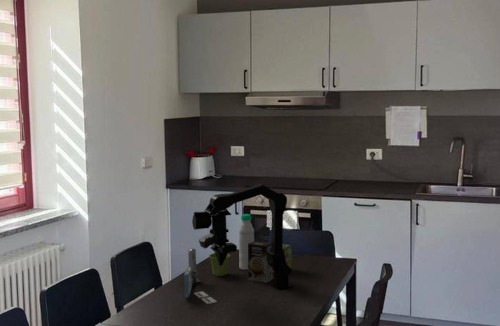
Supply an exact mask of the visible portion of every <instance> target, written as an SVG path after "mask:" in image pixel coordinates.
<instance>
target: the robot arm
mask: <svg viewBox="0 0 500 326" xmlns="http://www.w3.org/2000/svg"><path fill="white" fill-rule="evenodd" d="M258 196H262V197H264V198H265V199H267V201H268V205H269V209H270V212H271V243H272V244H271V249H270V251H267V252H266V253H267V259H266V261H268V264H269V266H271V267H272V270H274V273H273V277H274V278H273V279H274V283H271V287H273V288H275V289H277V290H283V289H290V288H292V285H290V283H289V281H290V279H289V277H290V275H291V274H292V271H293V268H292V269H291V268H290V267H289V266H288V265H287V264H286V258H285V254H284V251H283V244H284V242H283V241H284V235H283V233H284V232H283V231H284V230H283V229H284V213H285V211H286V209H287V203H288V196H287V195H286V194H284V193H283V192H281V191H277V190H272V189H271V188H269V187H267V186H266V185H264V184H262V183H258V184H256V185H253V186H250V187H245V188H243V189H241V190H236V191H234V192H230V193H219V194H214V195H212V196H211V197H210V199H209V203H208V205H207V206H206V207H205V210H204V211H194V212H193V215H192V220H191V222H192V223H191V224H192V229H193V230H204V229H209V228H210V227H211V228H210V229H209V233H208V234H205V235H203V236H201V237H200V238H198V242H199V246H200V247H201V248H203V250H204V249H208V248H209V249H210V250H212V251H213V253H215V254H216V257H217V260H218V263H219V265H220V266H221V265H223V262H224V260H225V258H226V256H227V254H229V253H235V252H237V251H238V246H237V244H235V243H233V242H230V239H228V234H227V233H229V229H228V228H227V216H231V215H232V213H231V212H229V210H228V209H229V208H230V207H232V206H233V205H235V204H236V203H240V202H243V201H246V200H249V199H252V198H255V197H258ZM210 246H211V247H210Z"/></svg>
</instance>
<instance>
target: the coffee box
mask: <svg viewBox="0 0 500 326" xmlns="http://www.w3.org/2000/svg"><path fill="white" fill-rule="evenodd" d="M271 244H272V242H265V241H256V240H254V242H251V243H249V244H248V270H247V275H248V276H247V278H248V281H251V282H252V281H253V282H259V283H266V284H267V283H269V282H270V281H272V280H273V273H272V267H271V266H269V264H268V261H266V259H267V253H266V252H267V251H270V249H271Z"/></svg>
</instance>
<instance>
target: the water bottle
mask: <svg viewBox="0 0 500 326" xmlns="http://www.w3.org/2000/svg"><path fill="white" fill-rule="evenodd" d="M240 219H241V224H240V226H239V228H238V234H239V235H238V251H239V255H238V259H239V261H238V262H239V263H238V265H239V266H238V267H239V269H241V270H243V271H248V244H249V243H251V242H254V241H255V229H254V227H253V224H252V222H251V221H252V214H250V213H243V214H241V216H240Z"/></svg>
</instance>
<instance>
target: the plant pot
mask: <svg viewBox="0 0 500 326" xmlns="http://www.w3.org/2000/svg"><path fill="white" fill-rule="evenodd" d="M230 257H231V254H229V253H228V254H227V256H226V258H225V260H224V262H223V265H221V266H220V265H219V263H218V260H217V257H216V254H215V252H213V253H210V254H209V255H208V258H209V261H210V262H211V263H210V264H211V271H212V275H213V276H215V277H222V276H227V273H228V264H229V260H230Z"/></svg>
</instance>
